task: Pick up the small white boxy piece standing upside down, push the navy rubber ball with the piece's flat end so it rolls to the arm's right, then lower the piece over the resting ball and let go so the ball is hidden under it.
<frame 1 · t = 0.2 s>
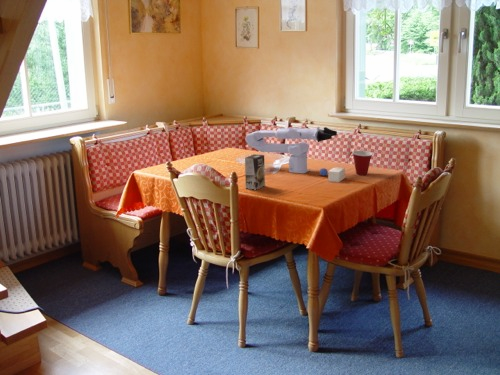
hand: (334, 135, 326), 21 cm above the table, tool horizontal, fingers open, 7 cm apart
coffee box: (255, 187, 313), on the table
ball: (323, 172, 330), on the table
white boxy piece: (336, 179, 322), on the table
plastic cup: (362, 174, 331), on the table
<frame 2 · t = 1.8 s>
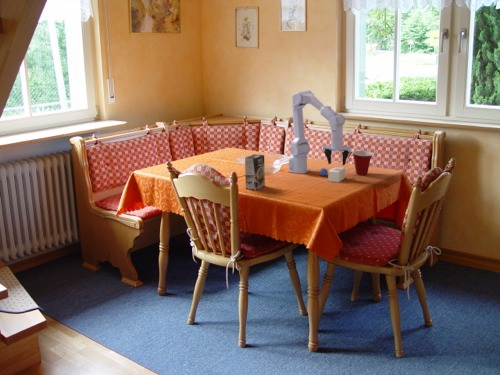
hand: (336, 164, 320), 8 cm above the table, tool pointing down, fingers open, 7 cm apart
nothing on the table moved.
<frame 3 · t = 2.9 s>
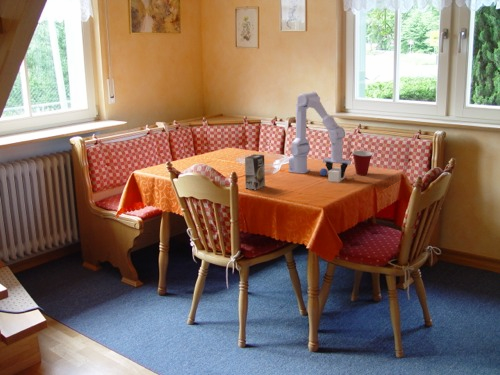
hand: (336, 176, 322), 1 cm above the table, tool pointing down, fingers closed on white boxy piece, 6 cm apart
white boxy piece: (336, 179, 322), on the table, touching gripper
everything else where it was.
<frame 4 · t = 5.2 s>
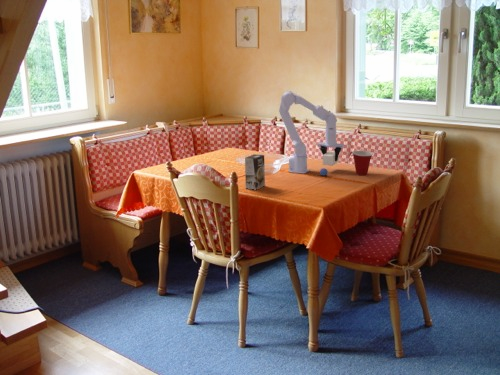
hand: (330, 160, 338), 6 cm above the table, tool pointing down, fingers closed on white boxy piece, 6 cm apart
white boxy piece: (330, 163, 339), point 4 cm above the table, touching gripper
everything else where it was.
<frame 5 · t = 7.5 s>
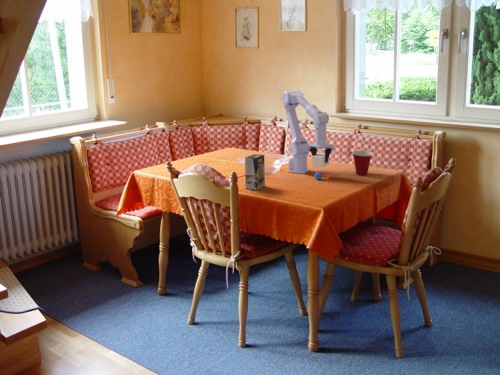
hand: (320, 162, 325), 8 cm above the table, tool pointing down, fingers closed on white boxy piece, 6 cm apart
ball: (318, 175, 323), on the table
white boxy piece: (321, 165, 325), point 7 cm above the table, touching gripper
everything else where it was.
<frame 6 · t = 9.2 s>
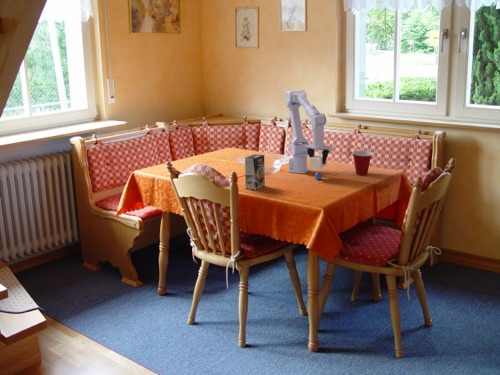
hand: (318, 163, 322), 8 cm above the table, tool pointing down, fingers closed on white boxy piece, 6 cm apart
white boxy piece: (318, 166, 322), point 7 cm above the table, touching gripper
everything else where it was.
when the fingers open (2 cm above the table, at t = 10.8 s): white boxy piece stays where it is, on the table.
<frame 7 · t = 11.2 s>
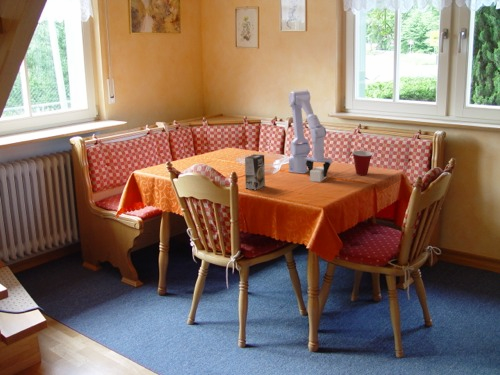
hand: (318, 175, 324), 2 cm above the table, tool pointing down, fingers open, 7 cm apart
white boxy piece: (318, 179, 324), on the table
everything else where it was.
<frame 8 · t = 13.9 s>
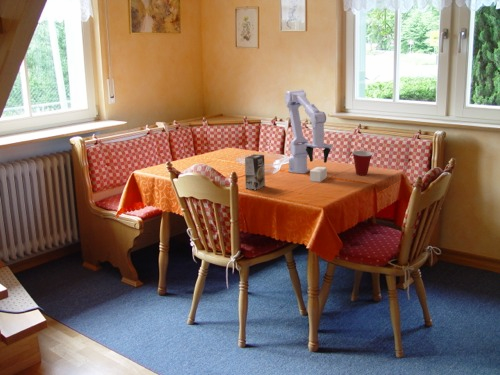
hand: (318, 161, 322), 9 cm above the table, tool pointing down, fingers open, 7 cm apart
nothing on the table moved.
at the end: ball 0.3 cm from the white boxy piece (horizontally); white boxy piece on the table; ball moved 7.9 cm from its start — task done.
